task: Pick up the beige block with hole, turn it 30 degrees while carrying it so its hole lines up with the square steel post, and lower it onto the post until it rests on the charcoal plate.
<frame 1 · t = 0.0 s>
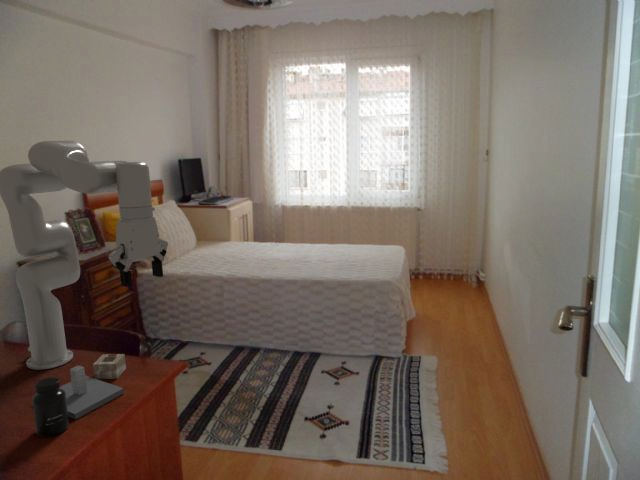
hand: (143, 281, 122), 31 cm above the table, tool pointing down, fingers open, 9 cm apart
supplement bottle: (53, 430, 114), on the table
hub plate: (80, 398, 128), on the table
steel post: (78, 380, 127), on the hub plate, point 5 cm above the table
beige block with hole: (110, 373, 141), on the table
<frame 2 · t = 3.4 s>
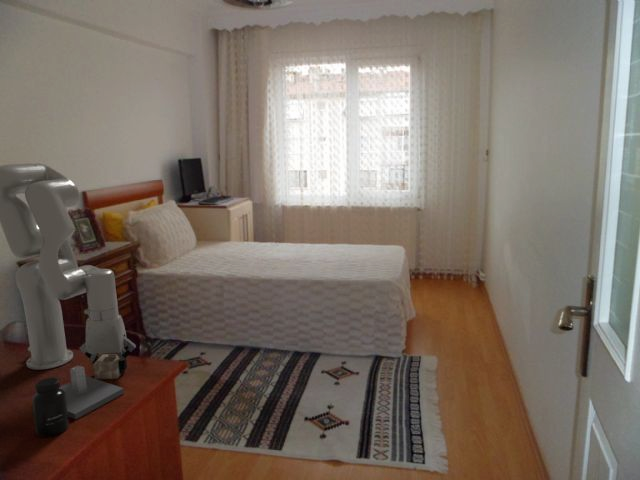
hand: (110, 371, 141), 1 cm above the table, tool pointing down, fingers closed on beige block with hole, 6 cm apart
beige block with hole: (110, 373, 141), on the table, touching gripper
everything else where it was.
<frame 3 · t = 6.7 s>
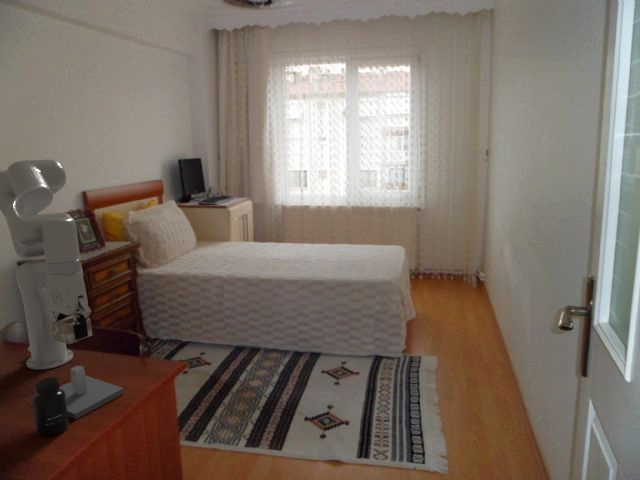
hand: (72, 334, 124), 18 cm above the table, tool pointing down, fingers closed on beige block with hole, 6 cm apart
beige block with hole: (73, 337, 124), point 17 cm above the table, touching gripper
everything else where it was.
when the fingers open (4 cm above the table, at t = 10.3 s): beige block with hole drops 2 cm, resting on hub plate.
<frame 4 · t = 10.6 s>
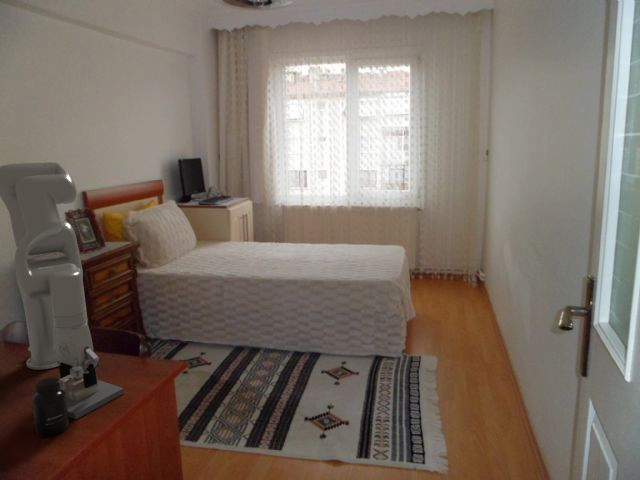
hand: (78, 381, 127), 5 cm above the table, tool pointing down, fingers open, 9 cm apart
beige block with hole: (80, 392, 127), point 1 cm above the table, touching hub plate
everything else where it was.
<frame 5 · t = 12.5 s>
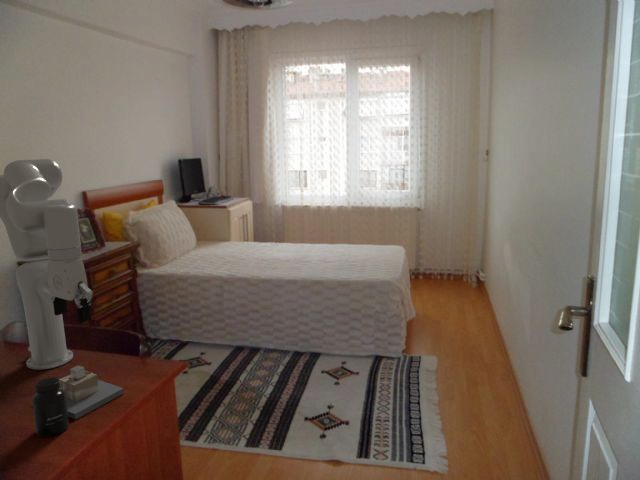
hand: (72, 317, 126), 21 cm above the table, tool pointing down, fingers open, 9 cm apart
nothing on the table moved.
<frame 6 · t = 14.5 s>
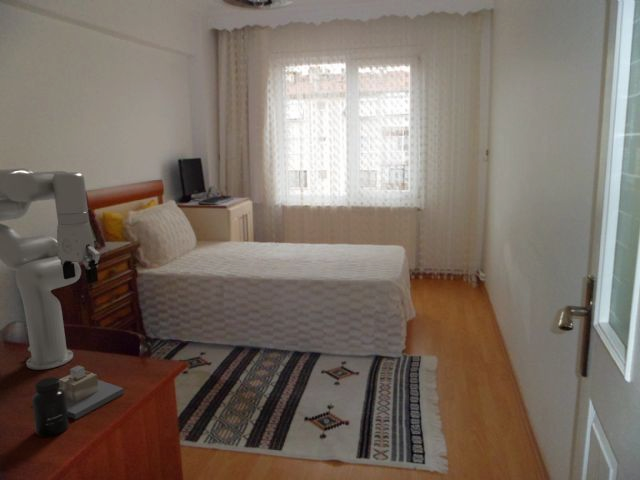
hand: (80, 280, 135), 28 cm above the table, tool pointing down, fingers open, 9 cm apart
nothing on the table moved.
at the end: beige block with hole 0.1 cm off-centre on the steel post, point 1.5 cm above the steel post's base; beige block with hole tilted 0°; the gripper is holding nothing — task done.
